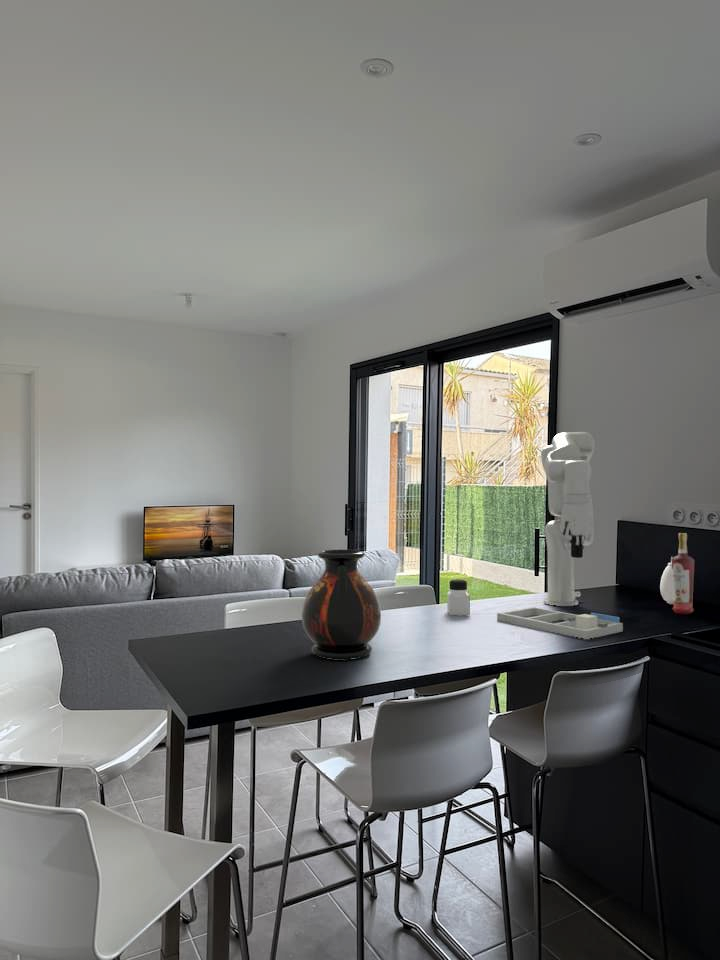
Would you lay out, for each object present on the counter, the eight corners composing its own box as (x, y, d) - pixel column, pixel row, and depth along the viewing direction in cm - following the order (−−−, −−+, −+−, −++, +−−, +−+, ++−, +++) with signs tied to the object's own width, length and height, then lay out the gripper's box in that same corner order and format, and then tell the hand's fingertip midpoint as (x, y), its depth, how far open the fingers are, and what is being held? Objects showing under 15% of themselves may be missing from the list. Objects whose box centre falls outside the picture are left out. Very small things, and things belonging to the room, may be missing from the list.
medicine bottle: (469, 615, 244) (469, 581, 244) (449, 615, 244) (449, 581, 244) (467, 611, 251) (467, 578, 251) (447, 611, 251) (447, 578, 251)
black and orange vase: (303, 645, 202) (302, 548, 202) (377, 644, 203) (377, 547, 203) (301, 665, 180) (300, 556, 180) (384, 663, 182) (384, 555, 182)
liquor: (698, 613, 245) (698, 533, 245) (687, 616, 241) (686, 534, 241) (679, 610, 251) (678, 532, 251) (667, 612, 247) (667, 533, 247)
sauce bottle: (655, 603, 266) (655, 555, 266) (669, 601, 269) (669, 554, 269) (673, 606, 259) (673, 557, 259) (687, 604, 262) (687, 556, 262)
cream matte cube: (584, 629, 221) (584, 613, 221) (597, 632, 218) (597, 616, 218) (576, 631, 218) (576, 615, 218) (588, 634, 215) (588, 617, 215)
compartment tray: (534, 613, 247) (534, 602, 247) (623, 630, 219) (623, 618, 219) (497, 620, 235) (497, 608, 235) (586, 639, 207) (586, 626, 207)
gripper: (580, 498, 231) (580, 554, 231) (552, 500, 222) (552, 558, 222) (601, 499, 225) (600, 556, 225) (572, 501, 216) (572, 560, 216)
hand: (576, 557), depth 224 cm, fingers closed
